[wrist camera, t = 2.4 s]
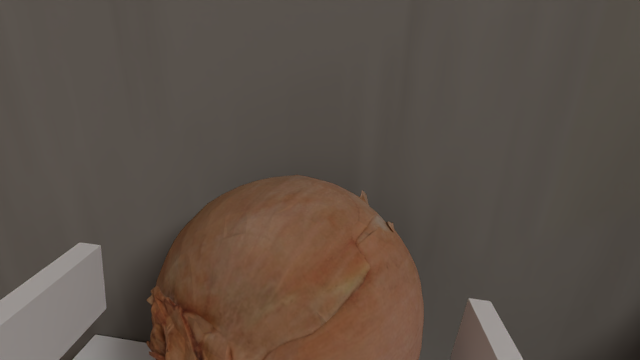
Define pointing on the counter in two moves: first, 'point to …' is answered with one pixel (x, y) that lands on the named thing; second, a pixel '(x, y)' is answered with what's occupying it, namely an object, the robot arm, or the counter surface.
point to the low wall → (114, 349)
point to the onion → (287, 280)
